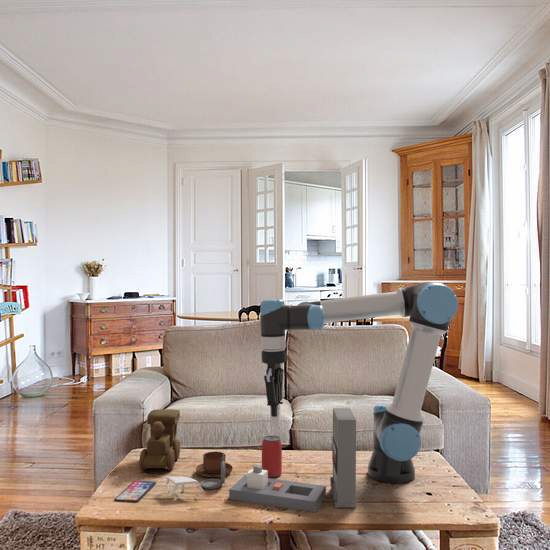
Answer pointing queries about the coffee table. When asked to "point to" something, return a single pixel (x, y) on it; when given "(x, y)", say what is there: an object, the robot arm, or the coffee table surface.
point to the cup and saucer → (213, 465)
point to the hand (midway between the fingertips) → (275, 426)
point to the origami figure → (181, 481)
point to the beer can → (272, 455)
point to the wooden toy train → (161, 440)
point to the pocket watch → (215, 482)
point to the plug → (257, 478)
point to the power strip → (280, 494)
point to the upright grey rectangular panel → (344, 458)
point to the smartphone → (135, 491)
